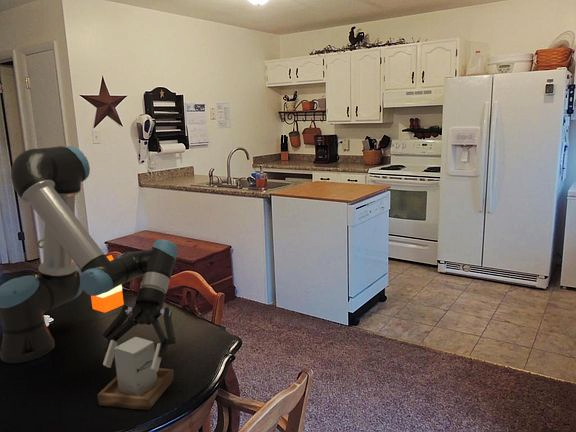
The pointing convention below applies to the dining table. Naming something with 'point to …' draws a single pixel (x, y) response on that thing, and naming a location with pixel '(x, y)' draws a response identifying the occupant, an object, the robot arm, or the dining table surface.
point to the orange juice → (108, 298)
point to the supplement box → (135, 366)
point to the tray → (143, 402)
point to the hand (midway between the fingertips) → (130, 368)
